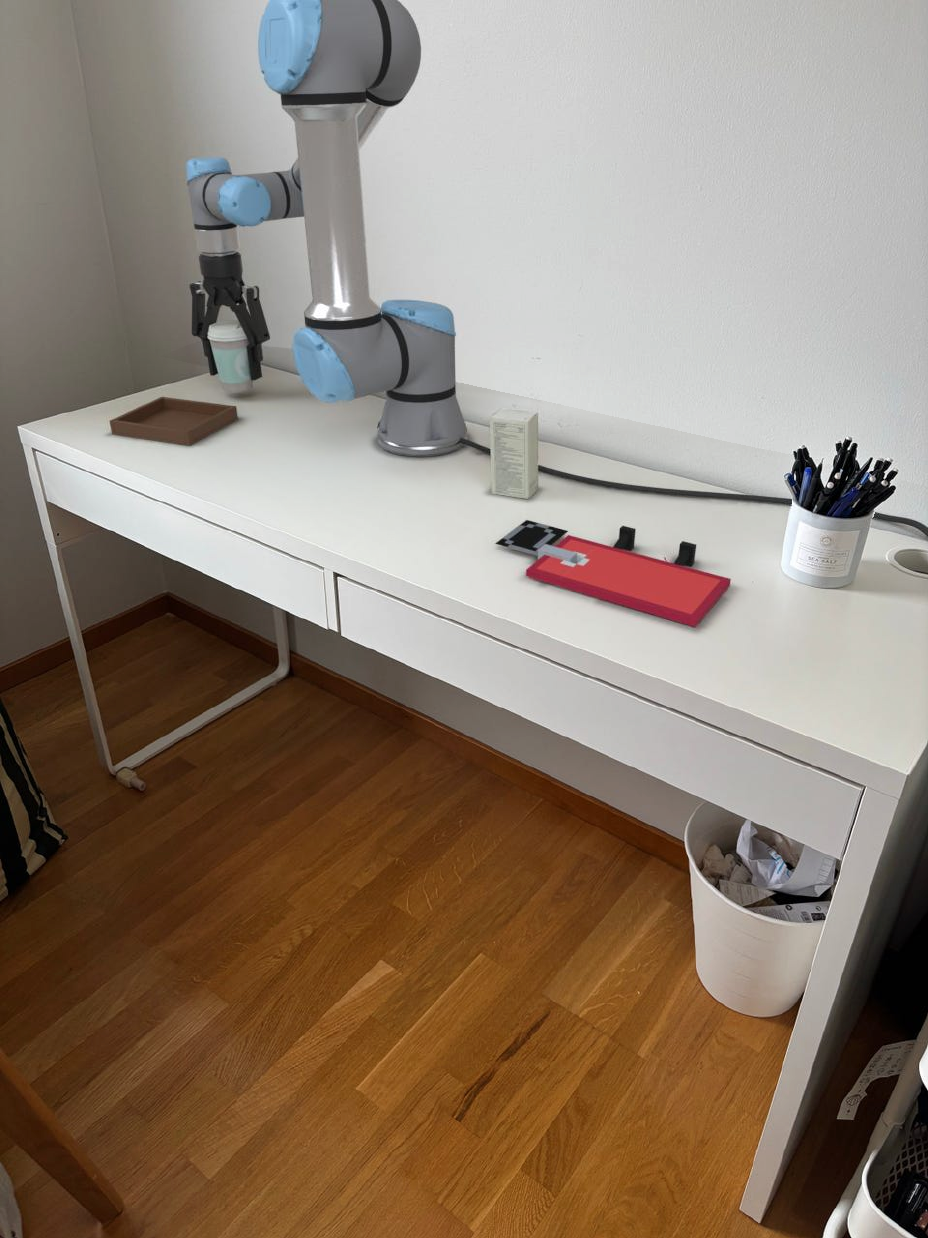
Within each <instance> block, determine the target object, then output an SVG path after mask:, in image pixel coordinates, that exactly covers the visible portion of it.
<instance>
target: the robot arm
mask: <svg viewBox="0 0 928 1238" xmlns="http://www.w3.org/2000/svg"><path fill="white" fill-rule="evenodd" d="M257 39H258V40H257V54H258V63H259V69H260V72H261V73H262V74H263V80H264V82H265V84H266V85H267V87H268V88H269V89H270V90H271V91H272V92H275V93H276V94H278V95H280V103H281V109H282V110H283V111H284V112H285V113H286V114H287V115H288V116H290V118H291V119H292V121H293V122H294V129H295V130H294V131H295V140H296V141H295V142H296V150H297V157H296V160H295V161H294V163H293V164H292V166H291V168H290V169H288V170H281V171H271V172H270V171H269V172H258V173H247V174H233V172H232V169H231V165H230V162H229V161H228V159H226V157H220V156H219V157H217V156H208V157H207V156H206V157H195V158H190V159H189V160H187V162H186V164H185V170H186V171H185V172H186V185H187V188H188V195H189V202H190V208H191V214H192V215H191V216H192V221H193V229H194V235H195V236H194V237H195V243H196V250H197V252H199V256H198V263H199V269H200V275H201V276H202V277H203V279H202V281H200V280H198V281H194V282H191V283H190V284H189V290H190V294H191V335H192V336H193V337H197V338H199V339H200V340H201V343H202V347H203V348H202V349H203V355H204V357H206V358H207V363H208V369H209V376H216V375H219V374H218V370H217V366H216V363H215V359H214V355H213V351H212V347H211V343H210V340H209V339H208V338H207V337H208V331H209V326H210V325H211V324H214V323H217V322H218V318H219V317H218V316H219V313H220V310H221V307H222V306H224V307H227V308H229V309H230V310H231V312H232V313H233V314H234V315H235V317H236V319H237V321H239V323H240V325H241V327H242V329H243V331H244V333H245V335H246V337H247V339H248V340H249V342H250V344H249V345H248V346H247V353H248V361H249V369H250V377H251V380H253V382H254V381H256V380H258V379H260V378H262V377H263V373H262V372H263V371H262V365H261V362H263V360H264V355H263V347H262V344H263V343H265V342H268V341H269V340H270V339H271V335H270V331H269V329H268V325H267V321H266V317H265V314H264V311H263V307H262V304H261V300H260V287H259V286H258V285H253V286H251V285H246V283H245V281H244V280H243V272H244V270H243V262H242V261H243V259H242V254H241V253H240V252H239V250H240V248H241V245H240V239H239V238H240V237H239V230H238V226H239V227H242V228H243V227H244V228H245V227H251V228H252V227H257V226H259V225H261V224H262V223H263V222H270V221H278V220H285V219H294V218H304V219H303V220H304V228H305V238H306V249H307V256H308V258H307V259H308V266H309V277H310V286H311V287H310V288H311V297H312V300H311V302H310V304H308V305H307V307H306V308H305V310H304V311H303V316H304V325H305V326H304V327H300V329H298V330H296V332H295V333H294V335H293V340H292V344H291V345H292V349H291V350H292V355H293V361H294V364H295V367H296V370H297V372H298V375H299V377H300V379H301V381H302V383H303V384H304V385H305V387H306V389H307V390H308V391H309V393H310V394H311V395H312V396H313V397H314V398H316V399H317V400H318V401H320V402H322V403H325V404H326V403H327V404H334V403H340V402H351V401H353V400H355V399H358V398H364V397H367V396H372V395H375V394H379V393H380V394H381V393H383V392H385V394H386V397H385V403H384V407H383V411H382V415H381V418H380V420H379V421H378V422H377V428H376V429H378V430H377V443H378V446H379V447H380V448H381V449H382V450H384V451H386V452H388V453H391V454H393V455H394V454H395V455H399V456H403V457H404V456H405V457H420V458H421V457H435V456H440V455H445V454H451V453H453V452H456V451H458V450H461V449H462V448H463V447H464V446H468V447H470V448H472V449H475V450H477V451H479V452H482V453H485V454H487V455H490V456H491V448H489V447H486V446H484V445H481V444H479V443H477V442H474V441H472V440H469V439H468V427H467V425H466V421H465V419H464V416H463V413H462V410H461V408H460V404H459V401H458V398H457V389H456V388H457V387H456V385H457V383H456V337H457V333H456V327H455V317H454V313H453V311H452V310H451V309H450V308H449V307H447V306H445V305H444V304H441V303H438V302H437V303H436V302H433V301H432V302H431V301H425V300H417V299H389V300H388V299H387V300H385V301H383V302H382V303H381V307H380V305H378V304H377V303H376V301H374V300H373V299H372V298H371V294H370V279H369V266H368V253H367V241H366V239H367V238H366V226H365V212H364V211H365V210H364V198H363V185H362V172H361V171H362V170H361V158H360V150H361V149H362V147H363V146H364V145H365V143H366V141H367V140H368V139H369V137H370V136H371V134H372V133H373V131H374V130H375V129H376V127H377V125H378V124H379V123H380V121H381V120H382V119H383V117H384V115H385V114H386V112H387V111H388V109H390V108H394V107H397V106H398V105H400V104H401V103H402V102H403V100H404V99H405V98H406V96H407V95H408V93H409V92H410V90H411V88H412V87H413V85H414V83H415V81H416V79H417V76H418V74H419V70H420V66H421V60H422V44H421V37H420V33H419V30H418V27H417V24H416V22H415V20H414V18H413V17H412V15H411V13H410V12H409V9H407V8H406V7H405V6H404V5H403V3H402V2H401V1H400V0H269V1H268V2H267V4H266V6H265V8H264V11H263V14H262V15H261V19H260V24H259V28H258V36H257ZM206 294H207V296H208V298H207V301H206ZM538 472H541V473H544V474H547V475H551V476H555V477H558V478H562V479H566V480H570V481H574V482H580V483H584V484H588V485H594V486H600V487H604V488H605V487H606V488H612V489H616V490H617V489H618V490H624V491H630V492H631V491H632V492H639V493H649V494H656V495H657V494H658V495H668V496H679V497H680V496H681V497H691V498H693V497H695V498H704V499H705V498H706V499H718V500H730V501H745V502H755V503H756V502H758V503H769V504H778V505H789V506H792V505H791V504H792V499H793V498H786V497H778V496H777V497H776V496H766V495H755V494H754V495H753V494H741V493H729V492H714V491H701V490H689V489H688V490H687V489H676V488H665V487H654V486H645V485H637V484H628V483H623V482H615V481H608V480H603V479H597V478H592V477H586V476H581V475H578V474H573V473H568V472H565V471H561V470H557V469H554V468H550V467H547V466H544V465H540V464H538ZM874 512H875V514H874V517H873V518H872V519H876V520H880V521H885V522H889V523H896V524H902V525H906V526H910V527H912V528H915V529H917V530H918V531H920V532H922V533H923V534H924V535H925V536H926V537H927V538H928V526H927V525H925V524H924V523H922V522H920V521H918V520H915V519H912V518H908V517H903V516H898V515H891V514H885V513H882V512H877V511H874Z"/></svg>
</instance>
